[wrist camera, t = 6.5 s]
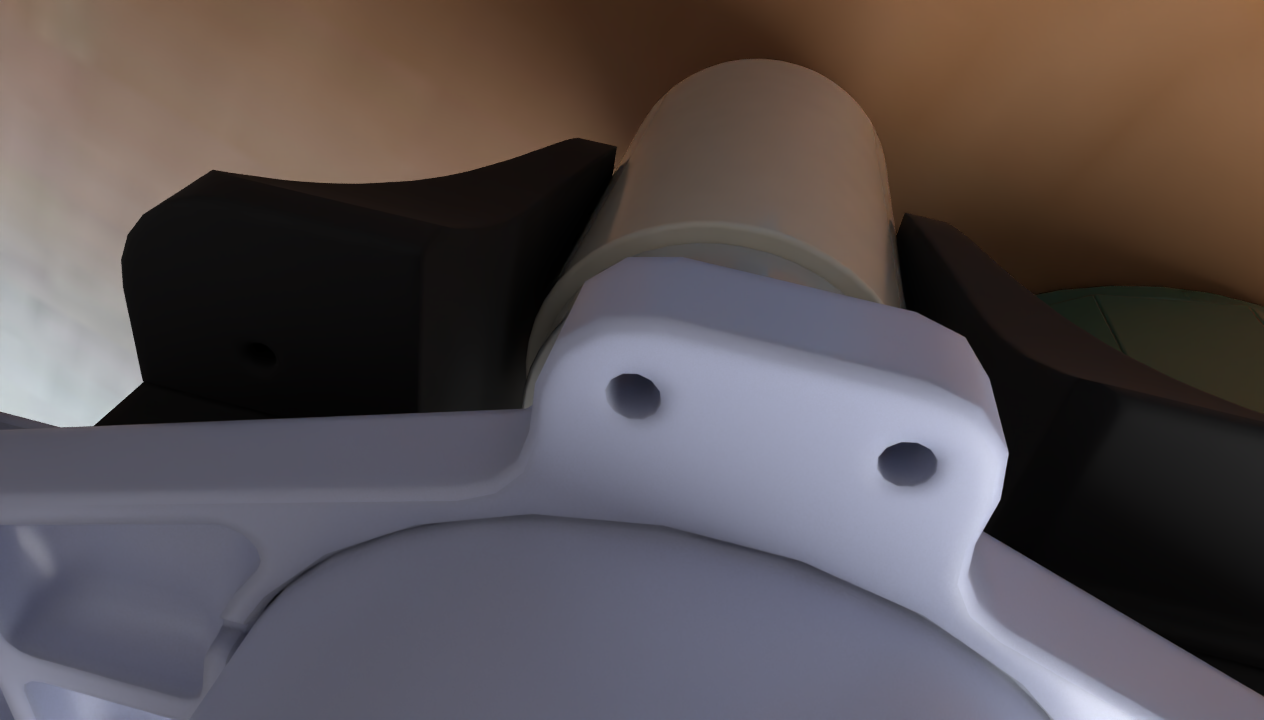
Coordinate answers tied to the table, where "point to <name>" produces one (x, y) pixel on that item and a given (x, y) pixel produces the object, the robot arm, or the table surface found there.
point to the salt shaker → (743, 192)
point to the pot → (1177, 334)
